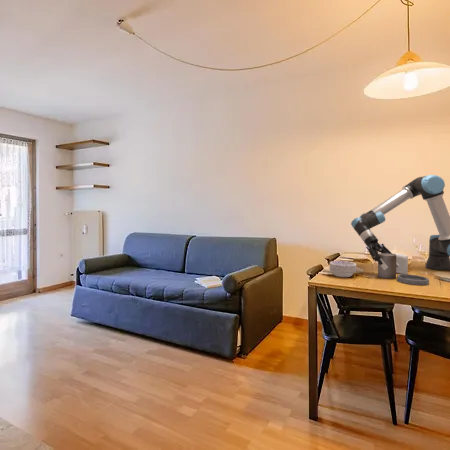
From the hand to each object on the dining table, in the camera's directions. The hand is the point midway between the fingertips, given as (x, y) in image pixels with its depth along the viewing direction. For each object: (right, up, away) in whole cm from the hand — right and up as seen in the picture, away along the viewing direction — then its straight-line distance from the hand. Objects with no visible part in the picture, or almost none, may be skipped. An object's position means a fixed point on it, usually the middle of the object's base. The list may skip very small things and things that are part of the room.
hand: (391, 268), depth 182 cm
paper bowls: (-27, -6, +6) cm, 28 cm away
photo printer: (+12, -5, +15) cm, 20 cm away
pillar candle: (-2, -6, +3) cm, 7 cm away
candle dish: (+7, -7, -9) cm, 13 cm away
